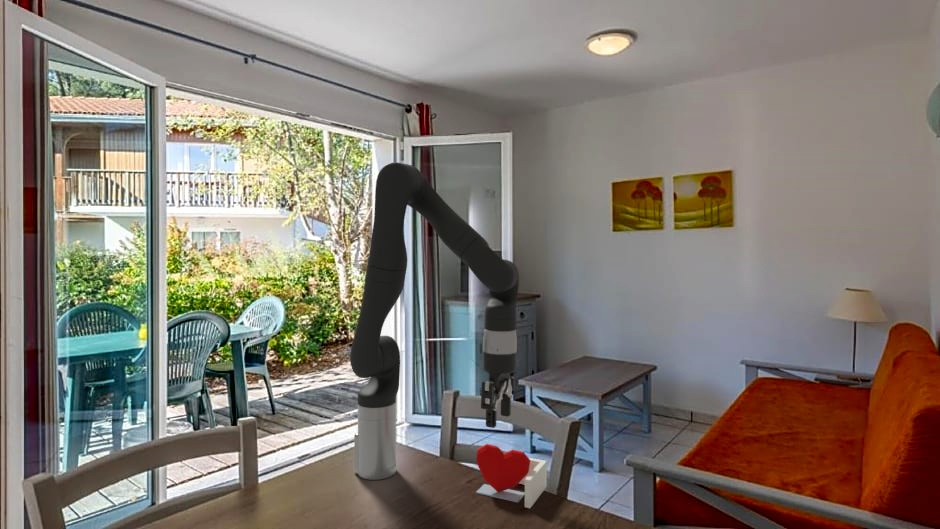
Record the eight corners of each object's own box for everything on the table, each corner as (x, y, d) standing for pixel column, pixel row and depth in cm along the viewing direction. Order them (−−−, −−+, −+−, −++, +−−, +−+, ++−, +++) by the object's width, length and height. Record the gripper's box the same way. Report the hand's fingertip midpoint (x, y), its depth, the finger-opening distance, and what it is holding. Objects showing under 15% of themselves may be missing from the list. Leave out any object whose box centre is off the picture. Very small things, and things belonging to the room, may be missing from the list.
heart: (525, 493, 118) (532, 450, 118) (523, 502, 114) (530, 458, 113) (474, 481, 121) (480, 439, 120) (470, 489, 116) (476, 446, 116)
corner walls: (477, 496, 116) (477, 469, 115) (497, 476, 126) (497, 452, 126) (530, 508, 110) (530, 480, 110) (546, 486, 120) (546, 461, 120)
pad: (476, 493, 117) (476, 491, 117) (484, 485, 121) (484, 483, 121) (518, 502, 113) (518, 501, 113) (525, 494, 117) (525, 492, 117)
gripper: (503, 357, 108) (502, 434, 109) (526, 345, 121) (525, 414, 122) (470, 353, 112) (469, 428, 112) (496, 342, 124) (495, 409, 125)
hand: (498, 421), depth 117 cm, fingers open, 8 cm apart
